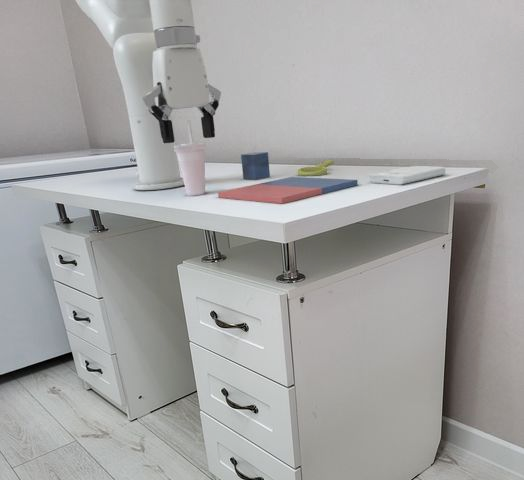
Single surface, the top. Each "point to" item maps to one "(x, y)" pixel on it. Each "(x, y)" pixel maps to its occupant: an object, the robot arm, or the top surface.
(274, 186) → the board
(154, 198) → the top surface
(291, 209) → the top surface
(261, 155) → the blue block
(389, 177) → the hard drive
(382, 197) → the top surface
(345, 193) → the top surface
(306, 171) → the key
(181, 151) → the smoothie
